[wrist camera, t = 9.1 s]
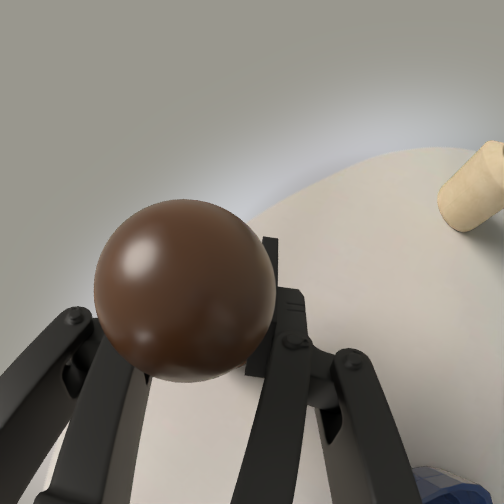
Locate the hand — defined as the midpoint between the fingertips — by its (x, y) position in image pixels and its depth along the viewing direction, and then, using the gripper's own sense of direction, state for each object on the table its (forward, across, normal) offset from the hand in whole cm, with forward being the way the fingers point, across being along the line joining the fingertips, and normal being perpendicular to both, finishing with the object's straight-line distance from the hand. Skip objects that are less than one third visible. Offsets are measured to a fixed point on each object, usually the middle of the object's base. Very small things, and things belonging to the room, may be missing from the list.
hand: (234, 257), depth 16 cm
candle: (+14, +21, +2) cm, 25 cm away
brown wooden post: (+2, 0, -8) cm, 8 cm away
